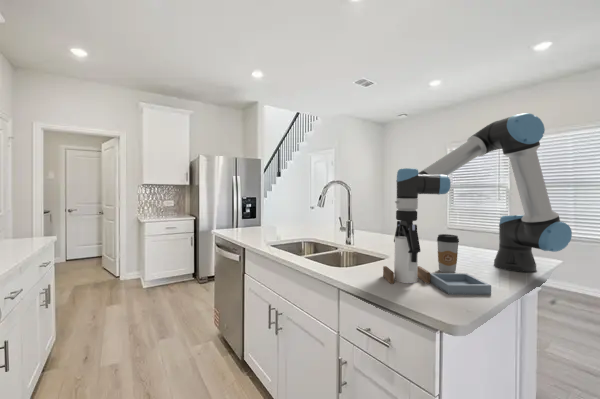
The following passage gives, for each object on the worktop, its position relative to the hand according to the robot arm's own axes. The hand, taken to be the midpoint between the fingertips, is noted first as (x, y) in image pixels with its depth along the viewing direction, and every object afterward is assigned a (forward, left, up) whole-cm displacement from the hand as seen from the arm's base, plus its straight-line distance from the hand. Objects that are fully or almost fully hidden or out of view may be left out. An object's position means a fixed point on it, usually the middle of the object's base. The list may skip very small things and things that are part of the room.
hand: (405, 266), depth 112 cm
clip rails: (0, 0, -5) cm, 5 cm away
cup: (0, 0, -5) cm, 5 cm away
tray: (-15, +9, -5) cm, 18 cm away
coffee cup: (-22, -12, -5) cm, 26 cm away
